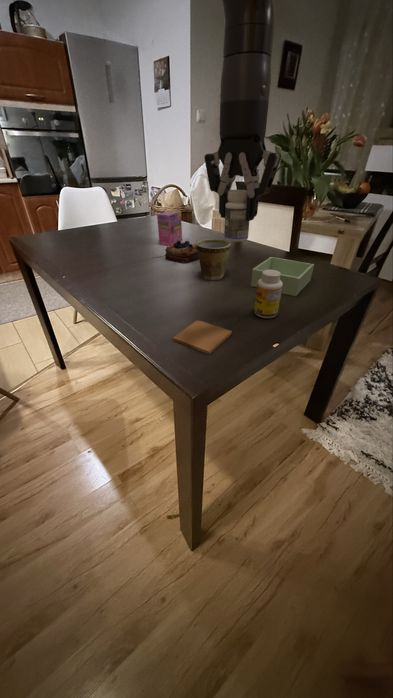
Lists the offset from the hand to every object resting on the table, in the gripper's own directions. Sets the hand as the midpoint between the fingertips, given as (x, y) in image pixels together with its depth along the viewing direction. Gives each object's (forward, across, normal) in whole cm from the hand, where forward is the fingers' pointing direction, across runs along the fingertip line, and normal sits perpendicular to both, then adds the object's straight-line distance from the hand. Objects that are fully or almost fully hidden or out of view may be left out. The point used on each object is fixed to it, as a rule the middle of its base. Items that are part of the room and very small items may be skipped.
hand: (237, 218), depth 54 cm
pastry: (+22, +37, -30) cm, 53 cm away
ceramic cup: (+22, +19, -21) cm, 36 cm away
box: (+22, +55, -44) cm, 73 cm away
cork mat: (+22, +1, +11) cm, 24 cm away
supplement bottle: (+22, -6, -7) cm, 24 cm away
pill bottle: (+4, 0, 0) cm, 4 cm away
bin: (+22, -2, -26) cm, 34 cm away
